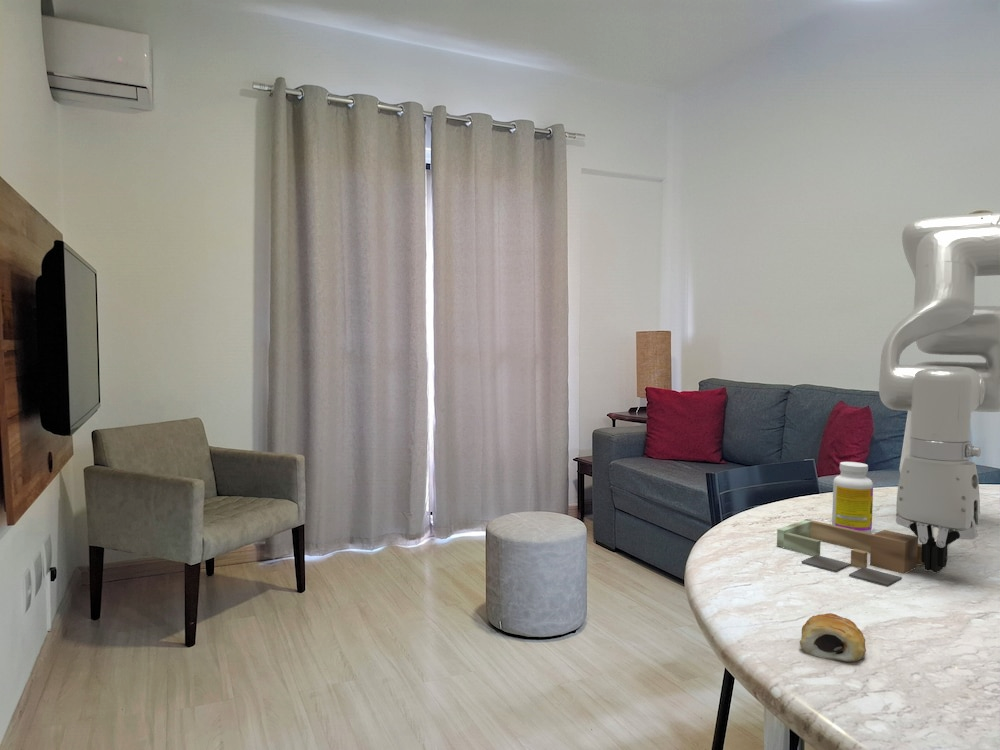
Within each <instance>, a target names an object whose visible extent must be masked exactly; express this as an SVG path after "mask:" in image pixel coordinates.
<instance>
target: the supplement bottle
mask: <svg viewBox="0 0 1000 750" xmlns="http://www.w3.org/2000/svg"><path fill="white" fill-rule="evenodd" d="M839 471H840V474H839V475H836V476H835V477H834V479H833V485H832V488H833V489H832V514H831V515H832V517H831V525H835V526H840V527H844V528H849V529H853V530H858V531H862V532H867V533H871V534H872V531H873V507H874V506H873V500H874V482H873V481H872V480H871V479H870V478H869V477H867V474H868V471H869V465H868V464H866V463H862V462H856V461H841V462H839Z"/></svg>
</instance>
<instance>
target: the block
mask: <svg viewBox="0 0 1000 750" xmlns="http://www.w3.org/2000/svg"><path fill="white" fill-rule="evenodd" d="M872 534H873V535H871V549H870V554H869V566H871V567H875V568H878V569H882V570H886V571H890V572H894V573H897V572H898V574H901V575H905V574H907V573H909V572H911V571H913V570H915V569H917V567H918V564H917V551H918V537H916V536H911V535H912V534H911V535H910V534H906V533H902V532H897V531H892V530H888V529H882V530H880V531H878V532H876V533H872ZM914 568H915V569H914Z"/></svg>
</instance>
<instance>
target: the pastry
mask: <svg viewBox="0 0 1000 750" xmlns="http://www.w3.org/2000/svg"><path fill="white" fill-rule="evenodd" d="M799 645H800V647H801V648H802V650H803V651H804V652H805V653H806V654H809V655H812V656H815V657H818V658H823V659H830V660H835V661H841V662H848V663H851V662H858V661H860V660H861V659H863V657H864V656H865V654H866V652H867V649H866V638H865V637H864V633H863V632H862V631H861V630H860V628H859V627H858V626H857V625H856V623H855V622H854V621H853V620H851V619H849V618H847V617H843V616H840V615H838V614H835V613H831V612H830V613H823V614H816V615H812V616H810V617H809V618H808V619H807V620H806V622H805V623H804V624H803V625H802V627H801V639H800V641H799Z"/></svg>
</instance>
